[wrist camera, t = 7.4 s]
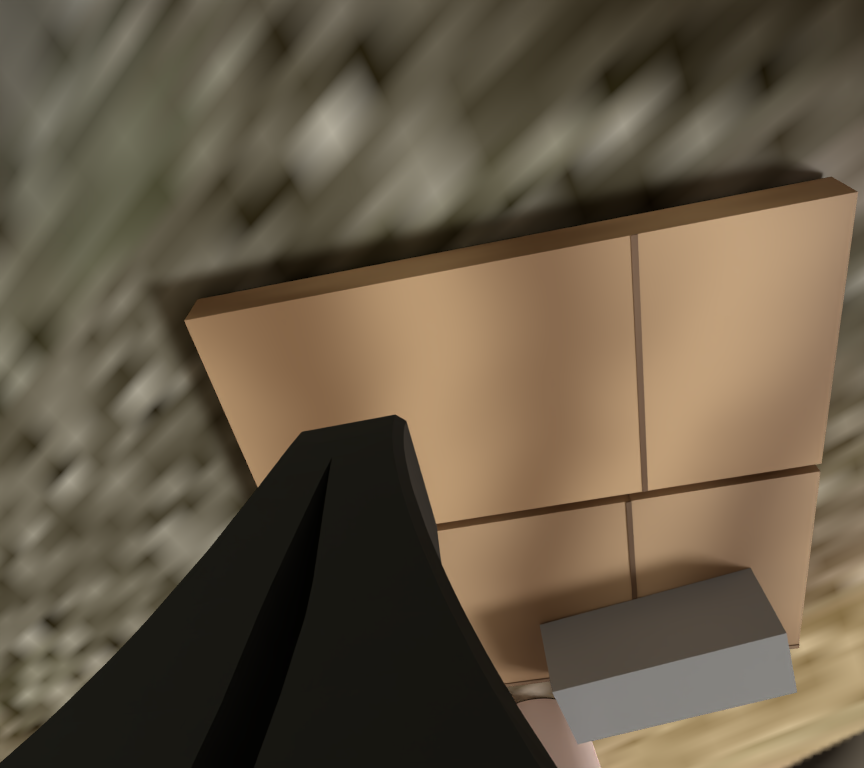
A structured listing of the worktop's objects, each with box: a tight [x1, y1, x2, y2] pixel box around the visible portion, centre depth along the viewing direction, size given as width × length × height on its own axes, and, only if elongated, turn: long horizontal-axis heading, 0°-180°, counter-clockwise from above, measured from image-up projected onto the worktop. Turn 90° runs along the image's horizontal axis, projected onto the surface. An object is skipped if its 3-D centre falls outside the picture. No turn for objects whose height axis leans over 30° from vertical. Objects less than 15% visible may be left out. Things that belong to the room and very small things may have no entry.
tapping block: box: [540, 568, 797, 744], centre depth 22 cm, size 7×3×2 cm, turn 111°
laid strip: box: [436, 464, 820, 687], centre depth 23 cm, size 16×8×1 cm, turn 101°
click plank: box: [184, 177, 858, 524], centre depth 19 cm, size 16×8×1 cm, turn 101°
